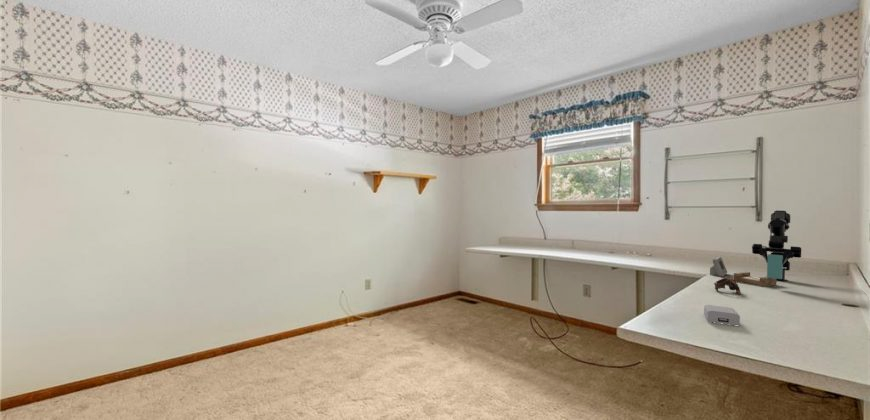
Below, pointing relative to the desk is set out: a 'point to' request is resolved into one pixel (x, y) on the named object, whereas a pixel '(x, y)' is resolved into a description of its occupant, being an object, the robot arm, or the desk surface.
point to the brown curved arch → (728, 282)
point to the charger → (721, 315)
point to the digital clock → (718, 267)
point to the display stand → (754, 279)
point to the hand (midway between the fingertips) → (774, 263)
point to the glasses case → (774, 266)
